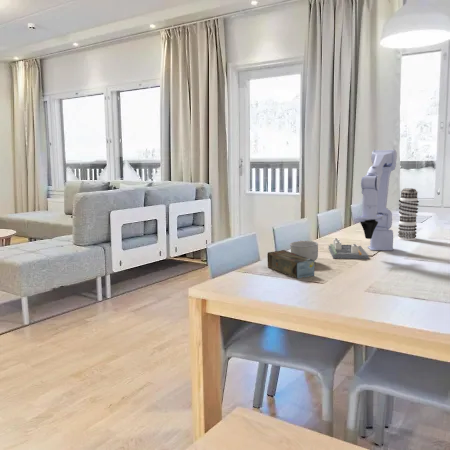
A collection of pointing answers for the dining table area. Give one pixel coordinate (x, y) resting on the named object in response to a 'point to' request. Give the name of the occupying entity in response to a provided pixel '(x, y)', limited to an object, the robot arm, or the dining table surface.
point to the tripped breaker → (354, 248)
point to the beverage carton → (291, 263)
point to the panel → (347, 252)
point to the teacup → (305, 249)
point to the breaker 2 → (337, 245)
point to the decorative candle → (408, 214)
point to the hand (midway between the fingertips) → (368, 238)
